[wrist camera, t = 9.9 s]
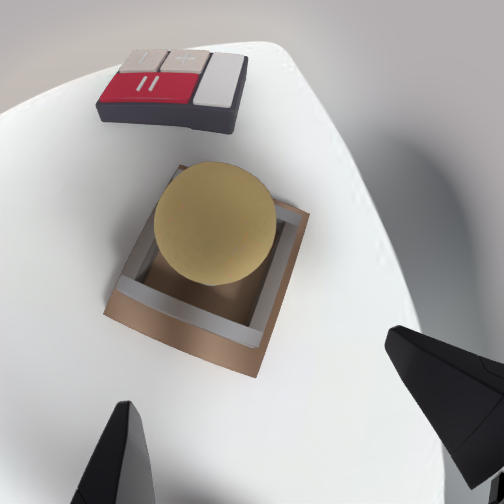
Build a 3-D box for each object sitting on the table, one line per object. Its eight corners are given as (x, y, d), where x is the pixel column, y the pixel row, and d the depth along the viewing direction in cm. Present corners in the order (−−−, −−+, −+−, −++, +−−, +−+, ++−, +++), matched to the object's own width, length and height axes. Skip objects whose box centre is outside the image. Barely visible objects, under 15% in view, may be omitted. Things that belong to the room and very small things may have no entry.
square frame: (304, 221, 26) (320, 199, 22) (252, 376, 21) (262, 381, 17) (180, 174, 26) (178, 146, 22) (109, 316, 21) (91, 308, 17)
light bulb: (154, 281, 21) (117, 223, 11) (193, 211, 23) (191, 122, 14) (232, 320, 21) (256, 291, 11) (267, 245, 23) (307, 171, 14)
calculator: (131, 47, 27) (249, 50, 28) (136, 71, 31) (246, 77, 32) (91, 101, 24) (234, 106, 24) (102, 127, 28) (232, 136, 28)
